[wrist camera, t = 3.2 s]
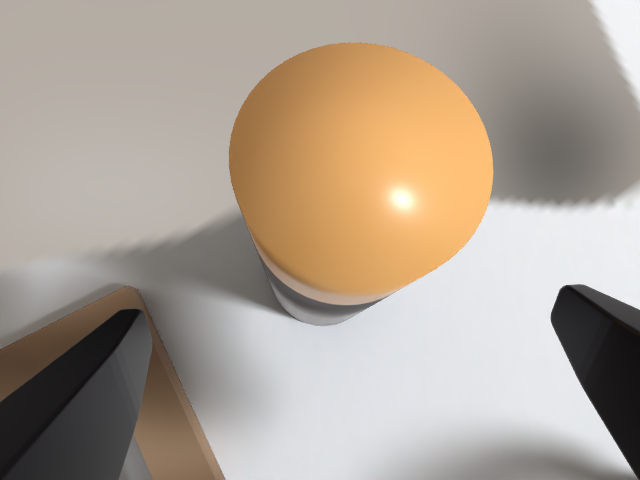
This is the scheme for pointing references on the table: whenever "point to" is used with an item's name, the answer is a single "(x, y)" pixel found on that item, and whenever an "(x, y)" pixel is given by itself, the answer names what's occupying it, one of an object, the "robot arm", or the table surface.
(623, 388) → the robot arm
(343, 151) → the cable plug
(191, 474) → the end holder
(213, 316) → the table surface
